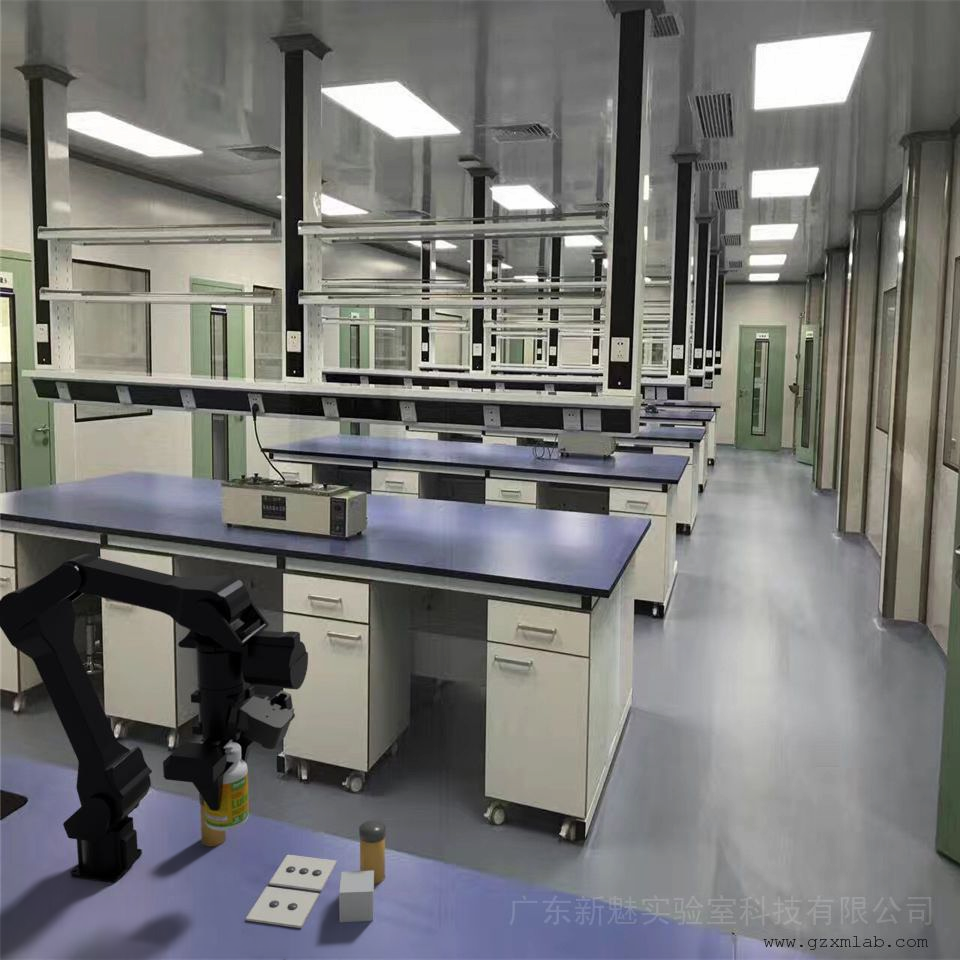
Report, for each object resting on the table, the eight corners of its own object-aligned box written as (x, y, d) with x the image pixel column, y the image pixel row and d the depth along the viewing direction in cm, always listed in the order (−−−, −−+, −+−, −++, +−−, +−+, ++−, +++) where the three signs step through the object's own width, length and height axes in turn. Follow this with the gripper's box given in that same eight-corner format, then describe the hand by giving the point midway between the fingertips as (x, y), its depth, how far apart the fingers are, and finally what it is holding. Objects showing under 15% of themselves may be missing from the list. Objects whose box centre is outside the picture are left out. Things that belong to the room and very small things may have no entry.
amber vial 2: (355, 883, 108) (355, 833, 106) (363, 867, 111) (363, 819, 110) (381, 886, 107) (381, 837, 106) (388, 870, 110) (388, 822, 109)
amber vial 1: (196, 845, 115) (194, 798, 114) (208, 831, 118) (206, 785, 117) (219, 848, 114) (218, 800, 113) (230, 834, 118) (229, 788, 117)
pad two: (246, 920, 100) (246, 917, 100) (266, 888, 106) (266, 885, 106) (301, 928, 99) (301, 925, 99) (319, 895, 105) (319, 892, 105)
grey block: (339, 922, 101) (339, 892, 100) (341, 900, 104) (341, 871, 104) (373, 921, 101) (372, 891, 100) (374, 899, 105) (374, 870, 104)
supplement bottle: (236, 834, 103) (233, 761, 101) (196, 829, 104) (193, 756, 102) (256, 811, 108) (254, 741, 106) (218, 805, 109) (215, 736, 108)
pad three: (269, 884, 107) (269, 881, 107) (287, 856, 113) (287, 853, 113) (321, 891, 106) (321, 888, 106) (337, 862, 112) (337, 860, 112)
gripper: (250, 720, 92) (254, 848, 95) (311, 658, 111) (313, 767, 113) (157, 711, 94) (164, 837, 97) (232, 651, 112) (236, 759, 115)
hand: (225, 797), depth 105 cm, fingers closed on supplement bottle, 5 cm apart
